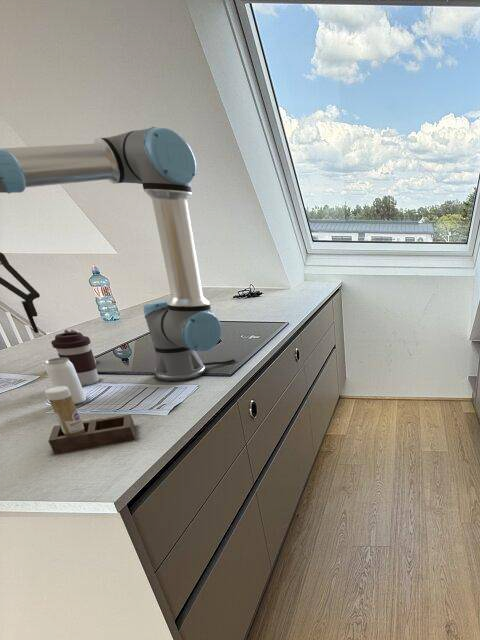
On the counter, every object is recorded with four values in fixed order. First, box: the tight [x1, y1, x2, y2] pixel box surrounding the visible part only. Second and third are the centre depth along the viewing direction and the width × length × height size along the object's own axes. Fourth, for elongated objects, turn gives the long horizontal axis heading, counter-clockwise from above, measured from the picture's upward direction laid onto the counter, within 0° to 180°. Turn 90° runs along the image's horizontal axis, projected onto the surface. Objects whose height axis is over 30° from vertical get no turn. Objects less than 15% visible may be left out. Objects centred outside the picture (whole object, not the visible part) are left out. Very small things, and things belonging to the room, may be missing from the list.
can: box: [44, 357, 87, 406], centre depth 128 cm, size 6×6×12 cm
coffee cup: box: [50, 331, 100, 386], centre depth 141 cm, size 10×10×15 cm
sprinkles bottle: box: [44, 386, 86, 436], centre depth 105 cm, size 5×5×13 cm
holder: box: [48, 413, 136, 455], centre depth 109 cm, size 16×9×4 cm, turn 117°
